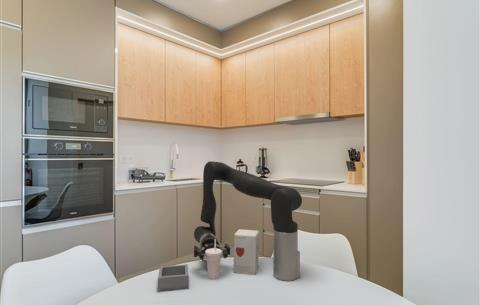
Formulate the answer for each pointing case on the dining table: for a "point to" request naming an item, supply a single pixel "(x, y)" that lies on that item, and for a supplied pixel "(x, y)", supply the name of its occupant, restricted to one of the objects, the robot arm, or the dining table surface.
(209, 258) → the smoothie
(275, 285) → the dining table surface
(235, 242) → the supplement box
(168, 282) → the box
